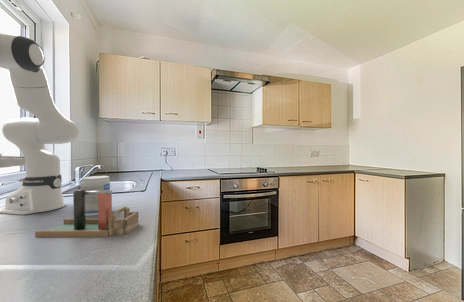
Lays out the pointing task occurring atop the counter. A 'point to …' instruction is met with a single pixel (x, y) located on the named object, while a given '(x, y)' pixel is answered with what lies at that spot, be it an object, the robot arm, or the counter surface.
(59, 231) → the tray
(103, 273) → the counter surface
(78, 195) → the pillars with crossbar
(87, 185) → the supplement tub
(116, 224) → the wooden frame
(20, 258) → the counter surface
